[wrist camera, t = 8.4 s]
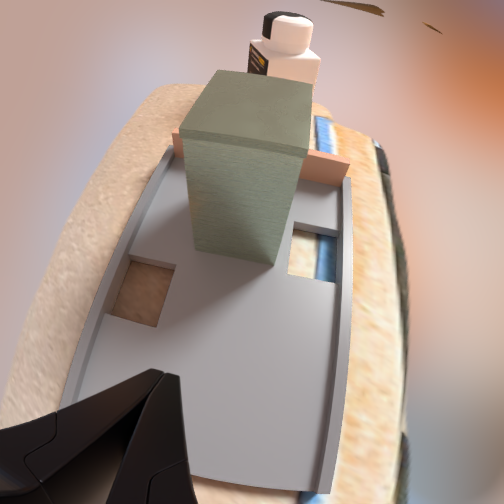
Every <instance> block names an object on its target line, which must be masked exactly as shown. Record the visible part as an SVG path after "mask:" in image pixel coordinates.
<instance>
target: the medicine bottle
mask: <svg viewBox="0 0 504 504" xmlns="http://www.w3.org/2000/svg"><path fill="white" fill-rule="evenodd" d="M312 30H313V22H312V21H311V20H310V19H308V18H307V17H305V16H303V15H300V14H296V13H291V12H281V11H280V12H279V11H278V12H272V13H268V14H267V15H265V16H264V22H263V31H262V40H251V41H250V49H249V60H248V72H247V73H251V74H258V75H265V76H271V77H278V78H283V79H289V80H294V81H299V82H304V83H309V84H313V89H312V97H313V92H314V88H315V84H316V79H317V75H318V71H319V66H320V62H321V59H320V58H319V57H318V56H317V55H316V54H314V53H313V52H312V51H310V50H309V49H308V48H309V45H310V41H311V35H312Z"/></svg>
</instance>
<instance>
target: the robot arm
mask: <svg viewBox="0 0 504 504" xmlns="http://www.w3.org/2000/svg"><path fill="white" fill-rule="evenodd" d="M188 460H189V459H188V452H187V443H186V435H185V425H184V415H183V405H182V393H181V381H180V376H179V375H176V374H172V373H168V372H167V373H165V372H164V371H161V370H157V369H154V368H150V369H147V370H145V371H143V372H141V373H139V374H137V375H135V376H133V377H131V378H129V379H127V380H125V381H122V382H120V383H118V384H116V385H114V386H112V387H110V388H107V389H105V390H103V391H101V392H99V393H96V394H94V395H92V396H90V397H87V398H85V399H83V400H81V401H78V402H76V403H74V404H72V405H69V406H67V407H65V408H62V409H60V410H58V411H57V413H56V412H52V413H50V414H48V415H45V416H43V417H40V418H37V419H35V420H32V421H29V422H26V423H23V424H19V425H16V426H13V427H9V428H5V429H1V430H0V504H198V502H197V499H196V496H195V492H194V488H193V484H192V478H191V473H190V466H189V462H188Z"/></svg>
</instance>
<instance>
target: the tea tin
mask: <svg viewBox="0 0 504 504" xmlns="http://www.w3.org/2000/svg"><path fill="white" fill-rule="evenodd" d="M312 89H313V84H309V83H304V82H299V81H294V80H289V79H283V78H278V77H271V76H265V75H258V74H251V73H244V72H234V71H226V70H217V71H216V73H215V74H214V76H213V77H212V79H211V80H210V81H209V83H208V84H207V86H206V87H205V89H204V90H203V92H202V93H201V95H200V96H199V98H198V99H197V101H196V102H195V104H194V105H193V107H192V108H191V110H190V111H189V113H188V114H187V116H186V118H185V119H184V121H183V122H182V124H181V125H180V127H179V137H180V138H182V141H183V152H184V162H185V172H186V181H187V190H188V199H189V208H190V216H191V224H192V232H193V239H194V246H195V250H196V251H201V252H206V253H211V254H216V255H221V256H226V257H231V258H236V259H242V260H247V261H252V262H257V263H262V264H267V265H272V266H274V265H275V262H276V258H277V255H278V251H279V248H280V244H281V241H282V237H283V234H284V230H285V226H286V223H287V219H288V215H289V212H290V208H291V204H292V201H293V197H294V193H295V190H296V186H297V182H298V178H299V175H300V171H301V167H302V163H303V160H304V158H305V159H306V157H307V154H308V150H309V138H310V124H311V108H312Z"/></svg>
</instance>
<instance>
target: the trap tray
mask: <svg viewBox="0 0 504 504" xmlns="http://www.w3.org/2000/svg"><path fill="white" fill-rule="evenodd" d="M172 138H173V145H169V146H168V148H167V150H166V152H165V153H164V155H163V157H162V158H161V160H160V162H159V164H158V166H157V167H156V169H155V171H154V173H153V175H152V176H151V178H150V180H149V182H148V184H147V186H146V188H145V189H144V191H143V193H142V195H141V197H140V199H139V201H138V203H137V205H136V207H135V209H134V211H133V213H132V215H131V217H130V219H129V221H128V223H127V225H126V227H125V229H124V231H123V233H122V236H121V238H120V240H119V242H118V244H117V246H116V249H115V251H114V253H113V255H112V258H111V260H110V262H109V264H108V267H107V269H106V271H105V274H104V276H103V279H102V281H101V283H100V286H99V288H98V291H97V293H96V296H95V298H94V301H93V304H92V306H91V309H90V311H89V314H88V317H87V320H86V322H85V325H84V328H83V331H82V334H81V337H80V339H79V342H78V345H77V348H76V351H75V355H74V358H73V361H72V364H71V367H70V371H69V374H68V377H67V381H66V384H65V388H64V391H63V395H62V399H61V403H60V407H59V410H60V409H62V408H65V407H67V406H69V405H72V404H74V403H76V402H78V401H81V400H83V399H85V398H87V397H90V396H92V395H94V394H96V393H99V392H101V391H103V390H105V389H107V388H110V387H112V386H114V385H116V384H118V383H120V382H122V381H125V380H127V379H129V378H131V377H133V376H135V375H137V374H139V373H141V372H143V371H145V370H147V369H150V368H154V369H157V370H161V371H164V372H165V373H167V372H168V373H172V374H176V375H179V376H180V381H181V393H182V405H183V415H184V425H185V435H186V443H187V452H188V459H189V460H188V462H189V466H190V473H191V475H195V476H199V477H204V478H209V479H213V480H218V481H224V482H229V483H235V484H241V485H248V486H255V487H263V488H272V489H282V490H295V491H314V492H315V493H317V494H330V491H331V486H332V480H333V475H334V470H335V464H336V458H337V452H338V446H339V440H340V433H341V426H342V419H343V411H344V403H345V394H346V384H347V374H348V363H349V350H350V335H351V316H352V288H353V223H352V195H351V178H350V177H346V176H345V175H346V172H347V170H348V167H349V165H350V160H349V158H345V157H341V156H337V155H333V154H329V153H325V152H320V151H316V150H311V149H309V150H308V154H307V157H306V159H305V158H304V160H303V163H302V167H301V171H300V175H299V178H298V182H297V186H296V190H295V193H294V197H293V201H292V204H291V208H290V212H289V215H288V219H287V223H286V226H285V230H284V234H283V237H282V241H281V244H280V248H279V251H278V255H277V258H276V262H275V265H274V266H272V265H267V264H262V263H257V262H252V261H247V260H242V259H236V258H231V257H226V256H221V255H216V254H211V253H206V252H201V251H196V250H195V246H194V239H193V232H192V224H191V216H190V208H189V199H188V190H187V181H186V172H185V162H184V152H183V141H182V138H180V137H179V128H175V129H174V130H173V132H172ZM293 229H298V230H303V231H308V232H312V233H317V234H322V235H327V236H332V237H336V238H337V257H336V280H335V283H331V282H326V281H320V280H315V279H310V278H304V277H299V276H294V275H289V274H287V271H288V263H289V256H290V248H291V241H292V233H293ZM131 260H132V261H136V262H140V263H145V264H149V265H154V266H158V267H163V268H167V269H172V270H175V271H174V274H173V277H172V280H171V283H170V286H169V289H168V292H167V295H166V298H165V301H164V304H163V308H162V311H161V314H160V317H159V320H158V324H157V327H156V328H155V327H152V326H148V325H144V324H141V323H137V322H134V321H130V320H127V319H123V318H120V317H116V316H113V315H111V312H112V310H113V307H114V304H115V301H116V299H117V296H118V293H119V291H120V288H121V285H122V283H123V280H124V278H125V275H126V273H127V270H128V268H129V265H130V263H131Z"/></svg>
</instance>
